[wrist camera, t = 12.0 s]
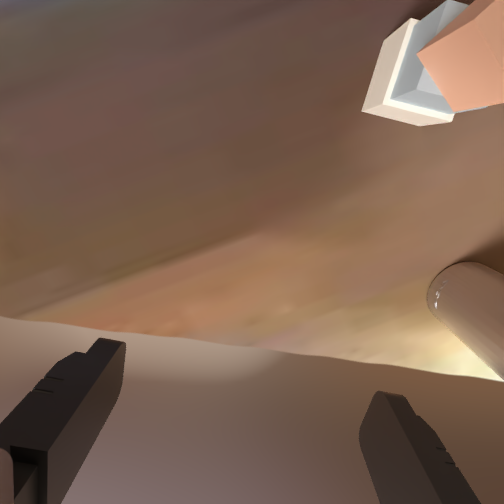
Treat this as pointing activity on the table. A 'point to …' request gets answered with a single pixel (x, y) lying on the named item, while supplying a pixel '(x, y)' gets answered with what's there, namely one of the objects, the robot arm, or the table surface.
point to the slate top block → (412, 70)
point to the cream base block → (385, 82)
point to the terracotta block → (469, 57)
